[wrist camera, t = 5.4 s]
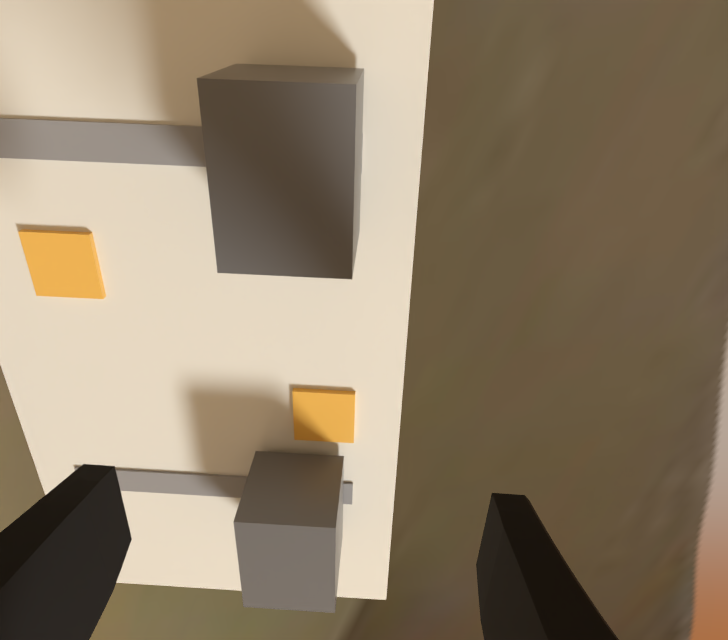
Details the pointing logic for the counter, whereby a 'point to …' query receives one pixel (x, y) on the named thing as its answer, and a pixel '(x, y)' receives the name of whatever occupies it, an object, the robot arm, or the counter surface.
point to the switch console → (198, 272)
